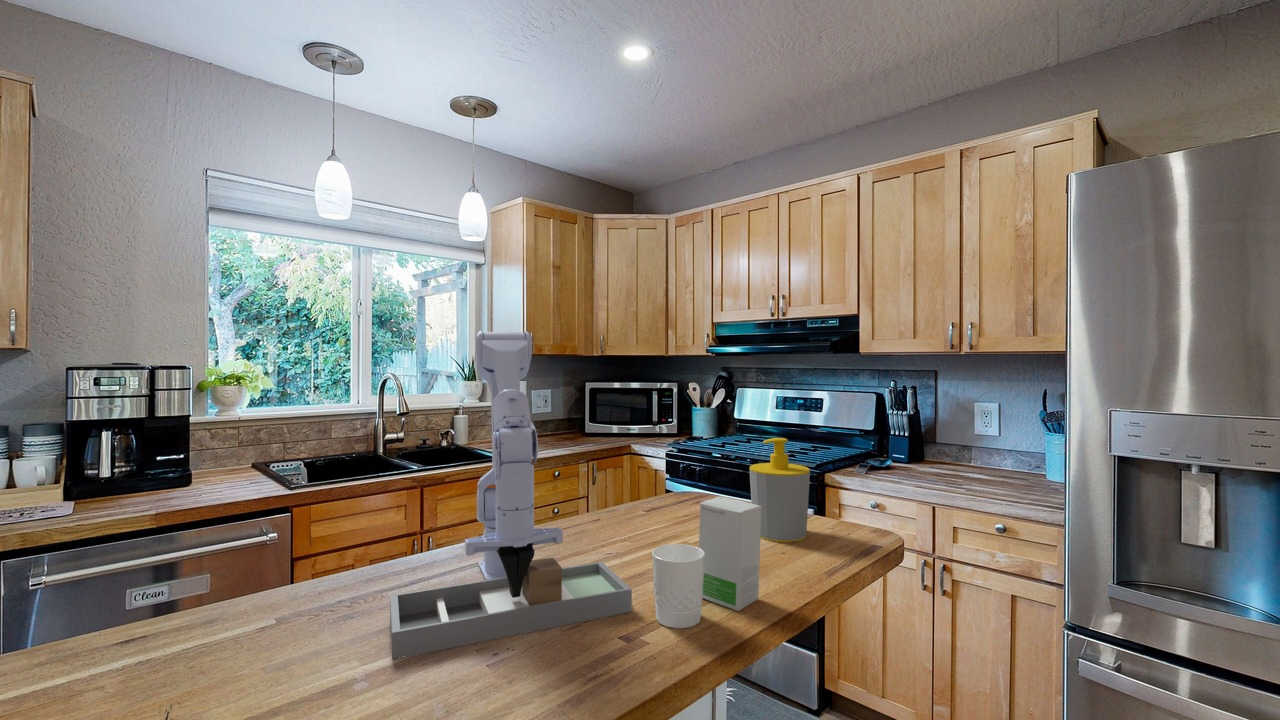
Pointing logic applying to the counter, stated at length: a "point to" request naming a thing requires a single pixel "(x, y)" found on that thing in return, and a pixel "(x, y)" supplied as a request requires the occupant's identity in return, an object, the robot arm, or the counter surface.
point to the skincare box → (730, 551)
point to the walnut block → (542, 582)
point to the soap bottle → (781, 495)
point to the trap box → (500, 610)
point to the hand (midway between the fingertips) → (515, 594)
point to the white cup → (678, 584)
